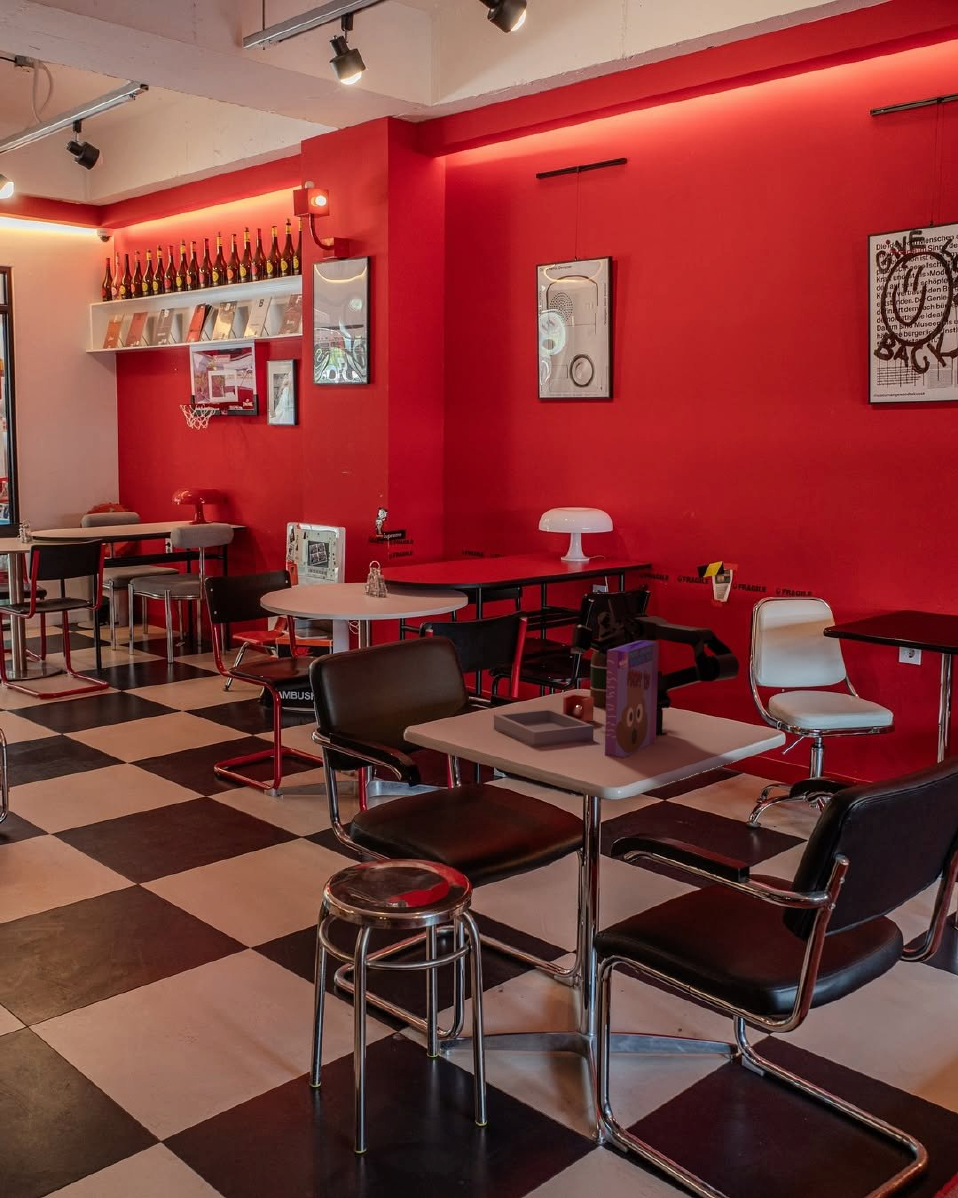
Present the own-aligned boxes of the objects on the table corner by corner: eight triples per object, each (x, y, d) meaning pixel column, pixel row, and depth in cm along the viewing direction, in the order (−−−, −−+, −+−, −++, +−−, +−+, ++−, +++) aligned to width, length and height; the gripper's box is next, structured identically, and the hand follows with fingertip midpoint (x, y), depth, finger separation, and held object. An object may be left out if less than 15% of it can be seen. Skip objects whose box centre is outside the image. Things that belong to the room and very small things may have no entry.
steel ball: (586, 717, 285) (586, 705, 284) (576, 718, 283) (576, 706, 283) (580, 715, 287) (580, 704, 287) (570, 716, 286) (570, 704, 286)
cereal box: (624, 758, 249) (627, 651, 246) (604, 755, 252) (607, 649, 249) (655, 742, 264) (658, 641, 261) (636, 739, 266) (639, 639, 263)
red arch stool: (593, 720, 286) (593, 697, 285) (583, 723, 282) (584, 700, 281) (572, 717, 289) (572, 694, 288) (562, 720, 285) (563, 697, 284)
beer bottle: (618, 702, 308) (620, 615, 305) (619, 708, 300) (621, 619, 297) (589, 701, 308) (591, 614, 305) (589, 707, 301) (591, 618, 298)
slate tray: (593, 740, 265) (593, 725, 265) (534, 747, 258) (534, 732, 257) (550, 722, 283) (550, 708, 282) (493, 728, 276) (494, 714, 275)
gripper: (654, 623, 286) (617, 641, 298) (595, 598, 278) (560, 616, 291) (650, 663, 281) (613, 679, 293) (590, 638, 273) (554, 655, 286)
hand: (585, 657), depth 291 cm, fingers open, 9 cm apart
